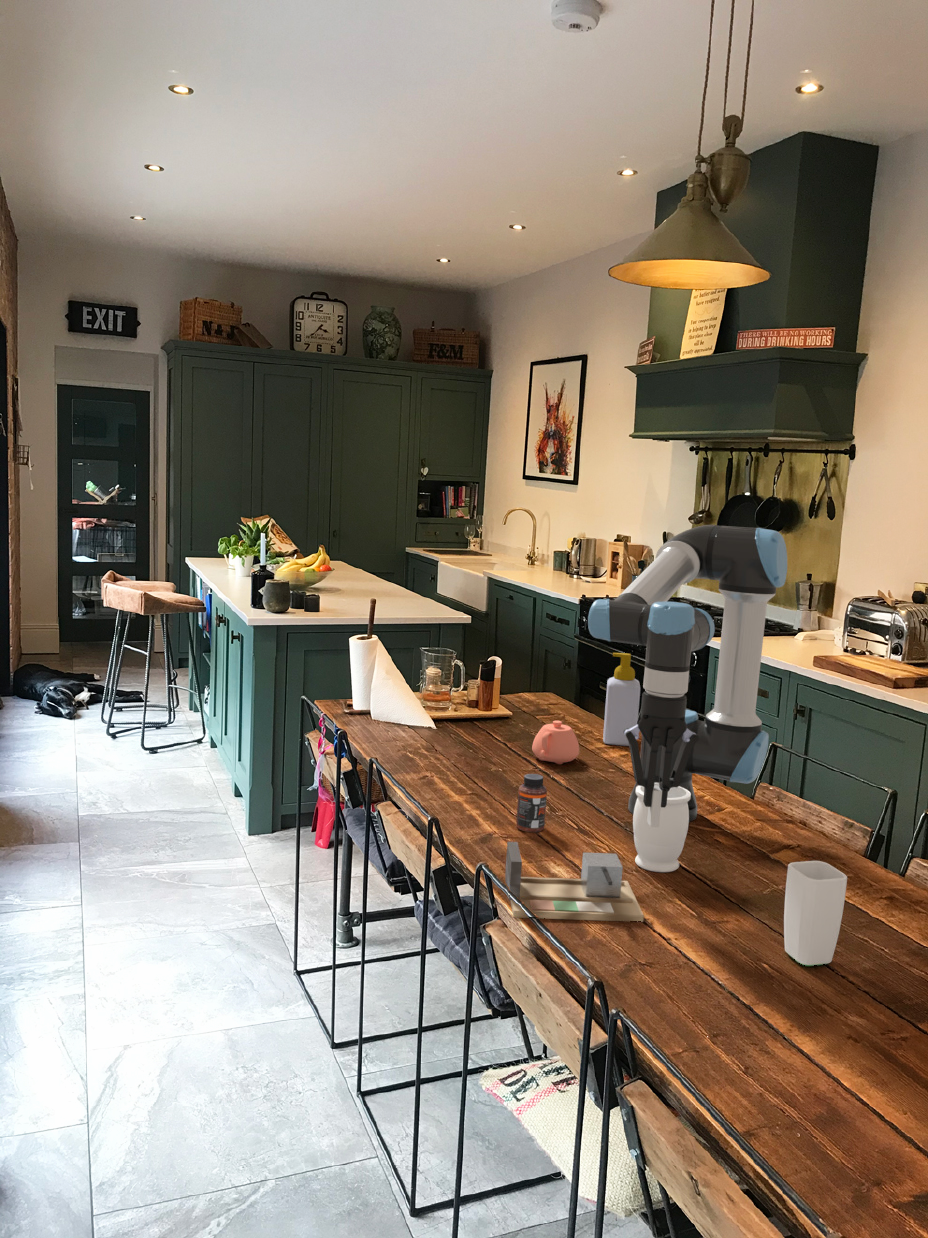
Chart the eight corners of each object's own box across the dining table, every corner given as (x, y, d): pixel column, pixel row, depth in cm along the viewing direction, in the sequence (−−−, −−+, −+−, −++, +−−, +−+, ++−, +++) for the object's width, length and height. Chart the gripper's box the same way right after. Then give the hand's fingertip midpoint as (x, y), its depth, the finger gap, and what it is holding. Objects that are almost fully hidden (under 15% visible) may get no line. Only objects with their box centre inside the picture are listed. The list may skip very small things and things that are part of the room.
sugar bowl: (586, 759, 261) (589, 721, 259) (562, 771, 249) (565, 731, 248) (545, 749, 267) (547, 712, 266) (519, 761, 256) (522, 722, 254)
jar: (651, 879, 186) (658, 802, 183) (618, 858, 195) (624, 785, 192) (695, 871, 191) (702, 796, 188) (661, 851, 200) (667, 779, 197)
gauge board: (627, 887, 181) (630, 844, 180) (643, 922, 168) (647, 876, 166) (504, 882, 180) (507, 839, 179) (510, 917, 167) (513, 871, 165)
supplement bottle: (542, 835, 205) (546, 782, 203) (514, 831, 206) (517, 779, 204) (546, 825, 211) (549, 773, 209) (518, 821, 212) (521, 770, 210)
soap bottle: (603, 736, 284) (609, 650, 280) (634, 739, 283) (641, 652, 279) (603, 744, 275) (609, 655, 271) (635, 747, 274) (643, 658, 270)
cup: (801, 972, 153) (811, 881, 151) (774, 950, 160) (783, 862, 158) (841, 968, 155) (852, 878, 153) (813, 946, 162) (822, 859, 160)
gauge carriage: (613, 885, 179) (616, 853, 178) (625, 913, 168) (628, 879, 167) (580, 884, 178) (583, 852, 177) (590, 912, 167) (593, 878, 166)
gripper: (696, 689, 174) (684, 818, 178) (622, 685, 174) (612, 815, 177) (708, 699, 167) (695, 833, 170) (631, 695, 166) (620, 830, 170)
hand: (652, 824), depth 174 cm, fingers closed
